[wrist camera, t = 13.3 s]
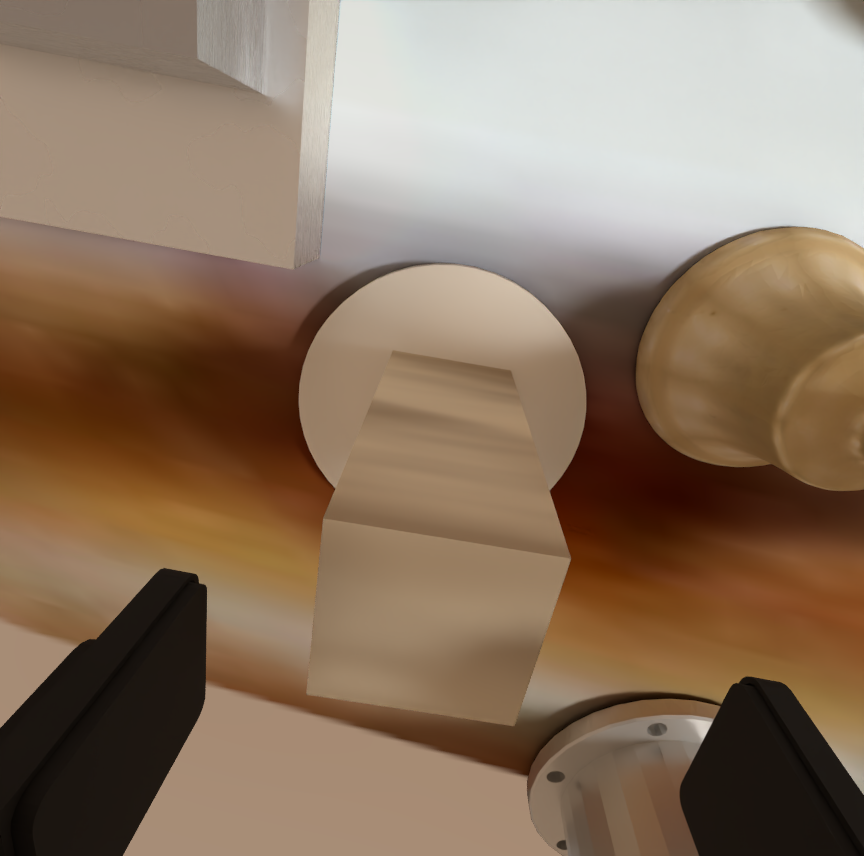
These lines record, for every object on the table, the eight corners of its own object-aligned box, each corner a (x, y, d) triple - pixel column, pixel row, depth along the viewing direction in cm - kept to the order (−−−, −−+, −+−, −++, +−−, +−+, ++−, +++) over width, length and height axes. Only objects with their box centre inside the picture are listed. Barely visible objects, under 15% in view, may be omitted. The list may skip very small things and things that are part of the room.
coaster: (590, 504, 20) (594, 516, 20) (342, 537, 21) (338, 548, 21) (570, 236, 16) (575, 238, 16) (269, 292, 18) (261, 296, 17)
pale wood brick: (486, 473, 19) (514, 726, 10) (378, 455, 19) (306, 694, 10) (510, 370, 18) (570, 558, 8) (392, 350, 17) (323, 518, 8)
